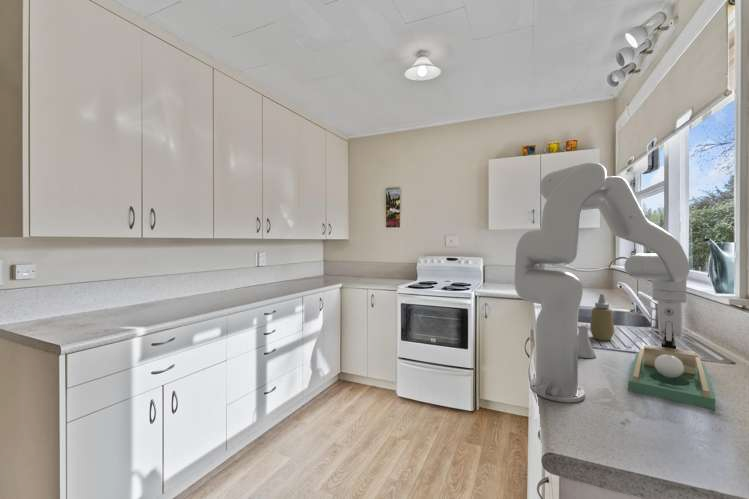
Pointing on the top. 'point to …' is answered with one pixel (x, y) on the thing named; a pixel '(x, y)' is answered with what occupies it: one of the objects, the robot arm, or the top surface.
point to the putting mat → (683, 387)
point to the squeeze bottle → (602, 320)
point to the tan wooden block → (684, 356)
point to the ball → (669, 366)
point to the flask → (584, 343)
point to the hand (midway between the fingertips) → (668, 357)
